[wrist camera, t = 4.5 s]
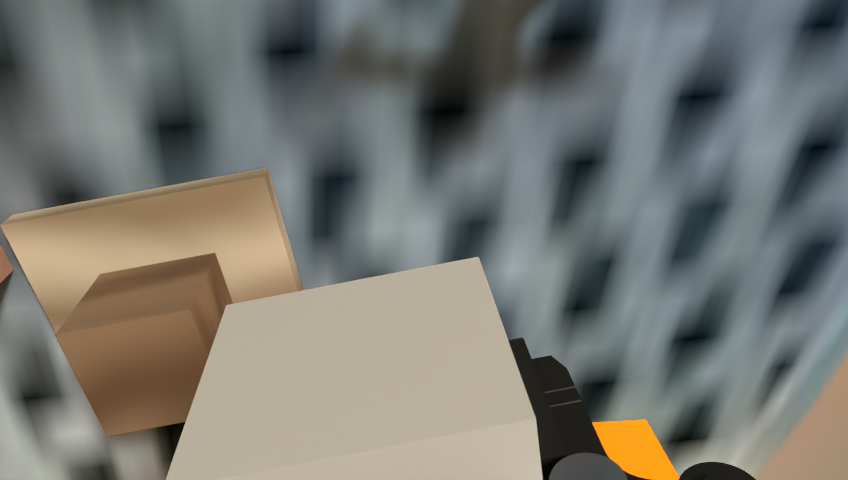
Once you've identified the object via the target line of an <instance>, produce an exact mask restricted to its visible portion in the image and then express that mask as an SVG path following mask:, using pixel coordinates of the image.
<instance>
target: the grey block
mask: <svg viewBox="0 0 848 480" xmlns="http://www.w3.org/2000/svg"><path fill="white" fill-rule="evenodd" d="M166 480H543V476H542V467H541V459H540V450H539V441H538V432H537V423H536V417H535V414H534V412H533V409H532V406H531V403H530V400H529V397H528V395H527V392H526V389H525V386H524V383H523V381H522V378H521V375H520V372H519V369H518V366H517V364H516V361H515V358H514V355H513V352H512V350H511V347H510V344H509V341H508V338H507V336H506V333H505V330H504V327H503V324H502V321H501V319H500V316H499V313H498V310H497V307H496V305H495V302H494V299H493V296H492V293H491V290H490V288H489V285H488V282H487V279H486V276H485V274H484V271H483V268H482V265H481V262H480V260H479V257H475V258H470V259H464V260H459V261H454V262H449V263H444V264H438V265H433V266H428V267H423V268H417V269H412V270H407V271H402V272H397V273H391V274H386V275H381V276H376V277H370V278H365V279H360V280H355V281H350V282H344V283H339V284H334V285H329V286H323V287H318V288H313V289H308V290H302V291H297V292H292V293H287V294H282V295H276V296H271V297H266V298H261V299H255V300H250V301H245V302H240V303H235V304H229V305H226V307H225V310H224V313H223V316H222V319H221V322H220V325H219V328H218V330H217V333H216V336H215V339H214V342H213V345H212V348H211V351H210V353H209V356H208V359H207V362H206V365H205V368H204V371H203V374H202V376H201V379H200V382H199V385H198V388H197V391H196V394H195V397H194V399H193V402H192V405H191V408H190V411H189V414H188V417H187V420H186V423H185V425H184V428H183V431H182V434H181V437H180V440H179V443H178V446H177V448H176V451H175V454H174V457H173V460H172V463H171V466H170V469H169V471H168V474H167V477H166Z"/></svg>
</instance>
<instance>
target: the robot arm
mask: <svg viewBox="0 0 848 480" xmlns="http://www.w3.org/2000/svg"><path fill="white" fill-rule="evenodd" d="M508 341H509V344H510V347H511V350H512V352H513V355H514V358H515V361H516V364H517V366H518V369H519V372H520V375H521V378H522V381H523V383H524V386H525V389H526V392H527V395H528V397H529V400H530V403H531V406H532V409H533V412H534V414H535V417H536V423H537V432H538V441H539V450H540V459H541V467H542V476H543V480H652V479H645V478H641V477H637V476H635V475H632V474H629V473H628V472H626V471H624V470H622V468H621V467H620V466H619V465H618V464H617V463H616V462H614V461H613V460H611V459H610V458H609V457H608V455H607V454H606V452H605V450H604V448H603V445H602V443H601V441H600V439H599V437H598V435H597V432H596V430H595V428H594V426H593V424H592V422H591V420H590V417H589V415H588V413H587V411H586V409H585V407H584V404H583V402H581V398H580V396H579V394H578V392H577V389H576V388H575V385H574V383H573V381H572V379H571V376H570V374H569V372H568V370H567V368H566V367H564V366H563V365H562V364H561V363H559V362H558V361H557V360H556V359H554V358H553V357H552V356H545V357H540V358H535V359H531V356H530V354H529V351H528V349H527V346H526V344H525V341H524V339H523V338H518V339H512V340H508ZM178 443H179V441H178ZM177 446H178V444H177ZM176 448H177V447H176ZM175 451H176V449H175ZM174 454H175V452H174ZM173 457H174V455H173ZM172 460H173V458H172ZM171 462H172V461H171ZM170 466H171V465H170ZM169 469H170V467H169ZM168 471H169V470H168ZM167 474H168V472H167ZM166 477H167V475H166ZM679 480H756V479H754V478H753V477H752V476H751V475H750V474H748V473H747V472H745V471H743V470H741V469H739V468H737V467H735V466H732V465H729V464H725V463H719V462H705V463H699V464H696V465H693V466H691V467H689V468H688V469H687V470H685V471H684V472H683V473H682V475H681V476H680V478H679Z"/></svg>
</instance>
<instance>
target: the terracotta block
mask: <svg viewBox="0 0 848 480" xmlns="http://www.w3.org/2000/svg"><path fill="white" fill-rule="evenodd" d="M13 270H14V269H13V267H12V265H11V264H10V262H9V260H8V258H7V256H6V254H5V252H4V250H3V248H2V246H1V244H0V283H1V282H2V281H3V280H4V279H5V278H6V277H7V276H8V275H9V274H10V273H11V272H12V271H13Z"/></svg>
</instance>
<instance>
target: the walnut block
mask: <svg viewBox="0 0 848 480" xmlns="http://www.w3.org/2000/svg"><path fill="white" fill-rule="evenodd" d="M229 304H233V302H232V299H231V296H230V293H229V290H228V287H227V285H226V282H225V279H224V276H223V273H222V270H221V268H220V265H219V262H218V259H217V256H216V254H215V253H211V254H205V255H200V256H194V257H189V258H184V259H178V260H173V261H167V262H162V263H157V264H151V265H146V266H141V267H135V268H130V269H124V270H119V271H114V272H108V273H103V274H100V275H99V276H98V277H97V279H96V280H95V282H94V283H93V284H92V286H91V287H90V288H89V290H88V291H87V292H86V294H85V295H84V296H83V298H82V299H81V300H80V302H79V303H78V304H77V306H76V307H75V308H74V310H73V311H72V312H71V314H70V315H69V316H68V318H67V319H66V321H65V322H64V323H63V325H62V326H61V327H60V329H59V330H58V331H57V333H56V334H55V336H56V338H57V340H58V342H59V344H60V346H61V348H62V350H63V352H64V354H65V356H66V358H67V360H68V362H69V364H70V365H71V367H72V369H73V371H74V373H75V375H76V377H77V379H78V381H79V383H80V385H81V387H82V389H83V391H84V392H85V394H86V396H87V398H88V400H89V402H90V404H91V406H92V408H93V410H94V412H95V414H96V416H97V418H98V420H99V421H100V423H101V425H102V427H103V429H104V431H105V433H106V435H107V436H113V435H118V434H123V433H129V432H134V431H139V430H145V429H150V428H155V427H161V426H166V425H171V424H176V423H182V422H186V420H187V417H188V414H189V411H190V408H191V405H192V402H193V399H194V397H195V394H196V391H197V388H198V385H199V382H200V379H201V376H202V374H203V371H204V368H205V365H206V362H207V359H208V356H209V353H210V351H211V348H212V345H213V342H214V339H215V336H216V333H217V330H218V328H219V325H220V322H221V319H222V316H223V313H224V310H225V307H226V305H229Z"/></svg>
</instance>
